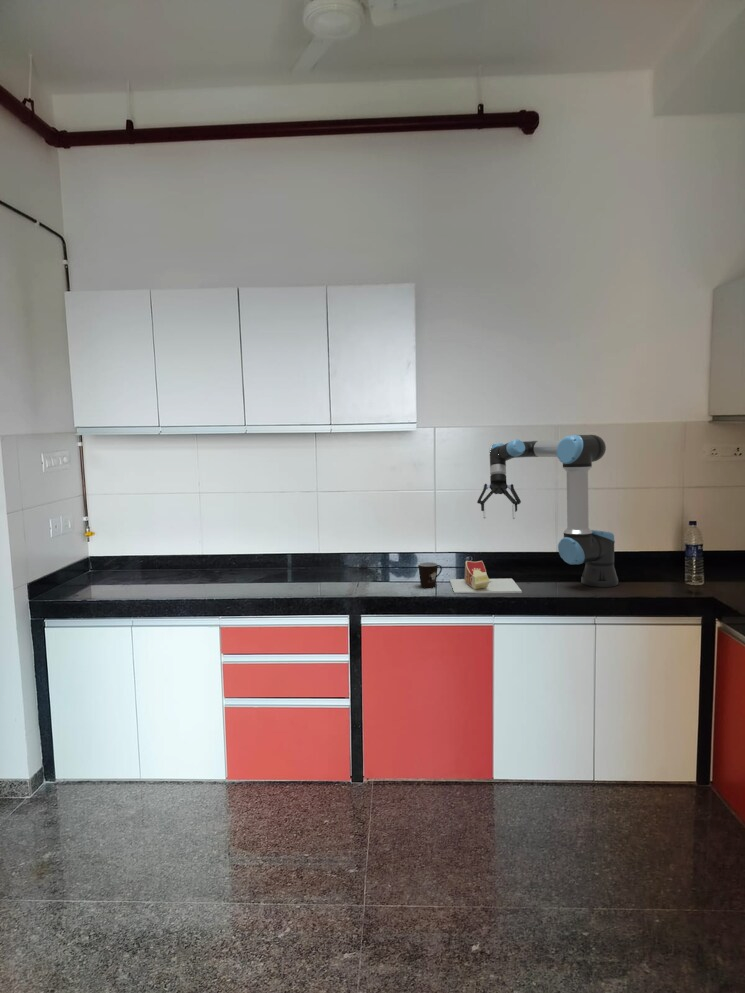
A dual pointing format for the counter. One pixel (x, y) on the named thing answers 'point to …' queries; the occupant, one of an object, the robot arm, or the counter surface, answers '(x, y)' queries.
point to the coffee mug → (428, 574)
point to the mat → (492, 587)
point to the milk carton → (476, 575)
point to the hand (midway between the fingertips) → (499, 518)
